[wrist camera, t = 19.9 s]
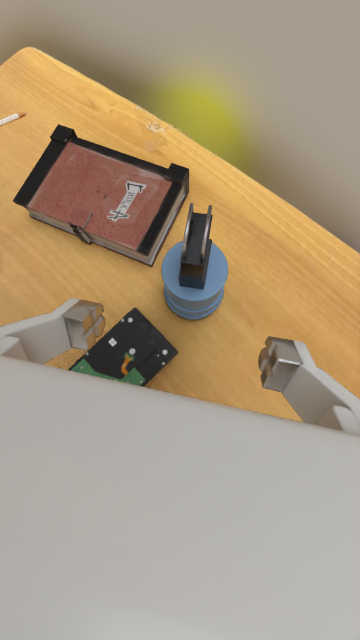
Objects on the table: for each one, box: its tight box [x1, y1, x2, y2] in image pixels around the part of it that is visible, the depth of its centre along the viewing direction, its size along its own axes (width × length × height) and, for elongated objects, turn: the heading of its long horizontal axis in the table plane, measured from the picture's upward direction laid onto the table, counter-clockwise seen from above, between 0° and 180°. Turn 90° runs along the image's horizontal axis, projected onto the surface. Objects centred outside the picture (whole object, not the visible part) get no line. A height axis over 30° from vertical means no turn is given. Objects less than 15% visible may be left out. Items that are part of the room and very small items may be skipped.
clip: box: [178, 203, 212, 289], centre depth 21 cm, size 5×3×8 cm, turn 170°
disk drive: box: [68, 308, 178, 387], centre depth 33 cm, size 10×3×15 cm
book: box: [13, 124, 189, 267], centre depth 38 cm, size 26×18×5 cm
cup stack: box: [162, 241, 228, 320], centre depth 31 cm, size 10×10×11 cm
